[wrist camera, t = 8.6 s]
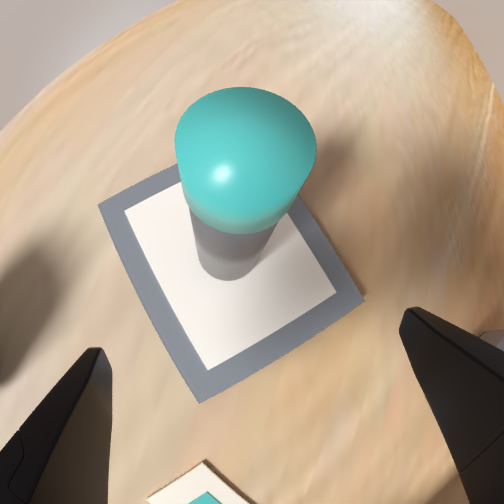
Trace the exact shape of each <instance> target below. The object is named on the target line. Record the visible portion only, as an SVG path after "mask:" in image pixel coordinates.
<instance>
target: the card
mask: <svg viewBox="0 0 504 504" xmlns="http://www.w3.org/2000/svg"><path fill="white" fill-rule="evenodd" d="M146 500H147V501H148V502H150V503H151V504H250V503H249V502H248V501H246V500H245V499H244V498H243V497H241V496H240V495H239V494H238V493H237V492H236V491H234V490H233V489H232V488H231V487H230V486H229V485H227V484H226V483H225V482H224V481H223V480H222V479H221V478H220V477H218V476H217V475H216V474H215V473H214V472H213V471H212V470H211V469H210V468H209V467H208V466H207V465H206V464H205V463H203V462H201V463H200V464H198V465H197V466H195V467H194V468H193V469H191V470H190V471H188V472H187V473H185V474H184V475H182V476H181V477H179V478H178V479H176V480H175V481H173V482H171V483H170V484H168V485H167V486H165V487H164V488H162V489H160V490H159V491H157V492H156V493H154V494H152V495H151V496H149V497H147V499H146Z"/></svg>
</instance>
